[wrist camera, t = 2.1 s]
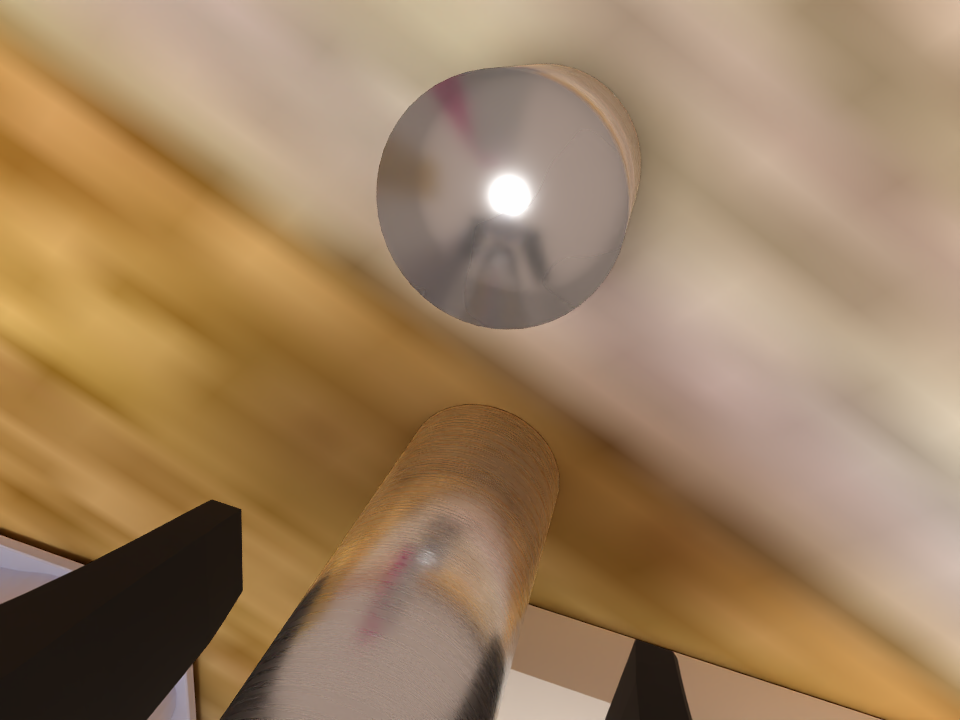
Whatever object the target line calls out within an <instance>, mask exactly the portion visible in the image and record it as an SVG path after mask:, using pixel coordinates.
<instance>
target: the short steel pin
mask: <svg viewBox="0 0 960 720" xmlns="http://www.w3.org/2000/svg"><path fill="white" fill-rule="evenodd" d="M640 177H641V152H640V146H639V141H638V136H637V133H636V130H635V127H634V124H633V122H632V120H631V118H630V116H629V114H628V112H627V110H626V109H625V108H624V106H623V105H622V103H621V102H620V100H619V99H618V98H617V97H616V96H615V95H614V94H613V93H612V92H611V90H610V89H608V88H607V87H606V86H605V85H604V84H602V83H601V82H600V81H598V80H597V79H595V78H594V77H592V76H590V75H589V74H587V73H584V72H582V71H580V70H577V69H575V68H571V67H567V66H563V65H556V64H531V65H520V66H509V67H498V68H487V69H480V70H475V71H469V72H465V73H462V74H459V75H456V76H454V77H451V78H449V79H447V80H445V81H443V82H441V83H439V84H437V85H435V86H434V87H432V88H431V89H429V90H428V91H427V92H425V93H424V94H423V95H421V96H420V97H419V98H418V99H417V100H416V101H415V102H414V103H413V104H412V105H411V106H410V107H409V108H408V109H407V110H406V112H405V113H404V114H403V115H402V117H401V118H400V119H399V120H398V122H397V124H396V126H395V127H394V129H393V131H392V132H391V134H390V136H389V139H388V141H387V143H386V146H385V148H384V151H383V154H382V158H381V161H380V165H379V171H378V178H377V209H378V217H379V221H380V226H381V230H382V233H383V236H384V239H385V242H386V245H387V247H388V249H389V251H390V253H391V255H392V258H393V260H394V261H395V263H396V265H397V266H398V268H399V269H400V271H401V272H402V274H403V275H404V276H405V278H406V279H407V280H408V281H409V283H410V284H411V285H412V286H413V287H414V288H415V289H416V290H417V291H418V292H419V293H420V294H421V295H422V296H423V297H424V298H425V299H427V300H428V301H429V302H430V303H432V304H433V305H434V306H436V307H437V308H439V309H440V310H442V311H444V312H445V313H447V314H449V315H451V316H453V317H455V318H457V319H460V320H462V321H465V322H468V323H471V324H474V325H477V326H482V327H487V328H494V329H523V328H528V327H533V326H538V325H541V324H544V323H547V322H550V321H553V320H555V319H557V318H559V317H561V316H563V315H566V314H567V313H569V312H570V311H572V310H573V309H575V308H576V307H578V306H579V305H581V304H582V303H583V302H584V301H585V300H586V299H588V298H589V297H590V296H591V295H592V294H593V293H594V292H595V291H596V289H597V288H598V287H599V286H600V285H601V284H602V283H603V281H604V280H605V278H606V277H607V275H608V274H609V272H610V271H611V269H612V267H613V265H614V263H615V261H616V259H617V257H618V255H619V252H620V249H621V246H622V243H623V240H624V237H625V234H626V230H627V227H628V223H629V220H630V216H631V213H632V209H633V206H634V202H635V199H636V195H637V192H638V187H639V182H640Z"/></svg>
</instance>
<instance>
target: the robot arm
mask: <svg viewBox="0 0 960 720" xmlns="http://www.w3.org/2000/svg"><path fill="white" fill-rule="evenodd" d="M242 591H243V580H242V522H241V509H239V508H236V507H233V506H230V505H227V504H224V503H221V502H218V501H215V500H210V501H208V502H206V503H204V504H202V505H200V506H198V507H196V508H194V509H192V510H190V511H188V512H187V513H185V514H183V515H181V516H179V517H177V518H175V519H173V520H171V521H170V522H168V523H166V524H164V525H162V526H160V527H158V528H156V529H155V530H153V531H151V532H149V533H147V534H145V535H143V536H141V537H139V538H137V539H135V540H134V541H132V542H130V543H128V544H126V545H124V546H122V547H120V548H118V549H116V550H114V551H112V552H110V553H108V554H106V555H104V556H102V557H100V558H98V559H96V560H94V561H93V562H91V563H89V564H87V565H83V564H81V563H78V562H75V561H72V560H69V559H67V558H64V557H61V556H58V555H55V554H53V553H50V552H47V551H44V550H41V549H39V548H36V547H33V546H30V545H27V544H25V543H22V542H19V541H16V540H13V539H11V538H8V537H5V536H2V535H0V720H196V707H195V692H194V677H193V663H194V662H195V660H196V659H197V658H198V657H199V655H200V654H201V653H202V652H203V650H204V649H205V648H206V646H207V645H208V644H209V643H210V641H211V640H212V638H213V637H214V635H215V634H216V632H217V631H218V629H219V628H220V626H221V625H222V623H223V622H224V620H225V619H226V617H227V615H228V614H229V612H230V610H231V609H232V607H233V606H234V604H235V602H236V601H237V599H238V597H239V596H240V594H241V593H242ZM605 720H692V716H691V713H690V709H689V705H688V702H687V698H686V694H685V690H684V686H683V681H682V677H681V673H680V668H679V663H678V659H677V657H676V655H675V654H674V652H673V651H670V650H667V649H664V648H661V647H658V646H655V645H652V644H649V643H646V642H643V641H640V640H637V639H635V642H634V644H633V647H632V649H631V652H630V655H629V657H628V660H627V663H626V665H625V668H624V670H623V673H622V676H621V678H620V681H619V684H618V686H617V689H616V692H615V694H614V697H613V699H612V702H611V705H610V707H609V710H608V713H607V715H606V718H605Z"/></svg>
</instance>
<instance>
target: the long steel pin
mask: <svg viewBox="0 0 960 720" xmlns="http://www.w3.org/2000/svg"><path fill="white" fill-rule="evenodd" d="M558 491H559V471H558V467H557V463H556V460H555V458H554V456H553V453H552V451H551V450H550V448H549V446H548V445H547V443H546V442H545V441H544V439H543V438H542V437H541V436H540V435H539V434H538V433H537V432H536V431H535V430H534V429H533V428H532V427H531V426H530V425H528V424H527V423H526V422H525V421H523V420H521V419H520V418H518V417H516V416H515V415H513V414H510V413H508V412H506V411H504V410H501V409H498V408H494V407H490V406H485V405H475V404H474V405H460V406H454V407H451V408H447V409H445V410H442V411H440V412H438V413H436V414H435V415H433V416H432V417H430V418H429V419H428V420H427V421H426V422H425V423H424V424H423V425H422V426H421V427H420V429H419V430H418V431H417V433H416V434H415V436H414V437H413V439H412V440H411V442H410V443H409V445H408V446H407V447H406V449H405V450H404V452H403V453H402V455H401V456H400V458H399V459H398V461H397V462H396V464H395V465H394V466H393V468H392V469H391V471H390V472H389V474H388V475H387V477H386V478H385V480H384V481H383V482H382V484H381V485H380V487H379V488H378V490H377V491H376V493H375V494H374V496H373V497H372V498H371V500H370V501H369V503H368V504H367V506H366V507H365V509H364V510H363V512H362V513H361V515H360V516H359V517H358V519H357V520H356V522H355V523H354V525H353V526H352V528H351V529H350V531H349V532H348V533H347V535H346V536H345V538H344V539H343V541H342V542H341V544H340V545H339V547H338V548H337V550H336V551H335V552H334V554H333V555H332V557H331V558H330V560H329V561H328V563H327V564H326V566H325V567H324V568H323V570H322V571H321V573H320V574H319V576H318V577H317V579H316V580H315V582H314V583H313V585H312V586H311V587H310V589H309V590H308V592H307V593H306V595H305V596H304V598H303V599H302V601H301V602H300V603H299V605H298V606H297V608H296V609H295V611H294V612H293V614H292V615H291V617H290V618H289V619H288V621H287V622H286V624H285V625H284V627H283V628H282V630H281V631H280V633H279V634H278V636H277V637H276V638H275V640H274V641H273V643H272V644H271V646H270V647H269V649H268V650H267V652H266V653H265V654H264V656H263V657H262V659H261V660H260V662H259V663H258V665H257V666H256V668H255V669H254V671H253V672H252V673H251V675H250V676H249V678H248V679H247V681H246V682H245V684H244V685H243V687H242V688H241V689H240V691H239V692H238V694H237V695H236V697H235V698H234V700H233V701H232V703H231V704H230V706H229V707H228V708H227V710H226V711H225V713H224V714H223V716H222V717H221V719H220V720H497V718H498V714H499V710H500V707H501V703H502V699H503V696H504V692H505V688H506V684H507V681H508V677H509V673H510V670H511V666H512V662H513V659H514V655H515V651H516V648H517V644H518V640H519V636H520V633H521V629H522V625H523V622H524V618H525V614H526V611H527V607H528V603H529V600H530V596H531V592H532V588H533V585H534V581H535V577H536V574H537V570H538V566H539V563H540V559H541V555H542V552H543V548H544V544H545V540H546V537H547V533H548V529H549V526H550V522H551V518H552V515H553V511H554V507H555V504H556V500H557V496H558Z"/></svg>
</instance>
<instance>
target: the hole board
mask: <svg viewBox="0 0 960 720" xmlns="http://www.w3.org/2000/svg"><path fill="white" fill-rule="evenodd" d="M634 642H635V639H633V638H630V637H627V636H624V635H621V634H618V633H615V632H612V631H609V630H605V629H602V628H599V627H596V626H593V625H590V624H587V623H584V622H581V621H578V620H575V619H572V618H569V617H566V616H563V615H559V614H556V613H553V612H550V611H547V610H544V609H541V608H538V607H535V606H532V605H529V604H528V607H527V611H526V614H525V618H524V622H523V625H522V629H521V633H520V636H519V640H518V644H517V648H516V651H515V655H514V659H513V662H512V666H511V670H510V673H509V677H508V681H507V684H506V688H505V692H504V696H503V699H502V703H501V707H500V710H499V714H498V718H497V720H605V718H606V715H607V713H608V710H609V707H610V705H611V702H612V699H613V697H614V694H615V692H616V689H617V686H618V684H619V681H620V678H621V676H622V673H623V670H624V668H625V665H626V663H627V660H628V657H629V655H630V652H631V649H632V647H633V644H634ZM674 654H675V655H676V657H677V659H678V663H679V668H680V673H681V677H682V681H683V686H684V690H685V694H686V698H687V702H688V705H689V709H690V713H691V716H692V720H882V719H879V718H875V717H872V716H869V715H866V714H863V713H860V712H857V711H854V710H851V709H848V708H845V707H842V706H839V705H836V704H833V703H829V702H826V701H823V700H820V699H817V698H814V697H811V696H808V695H805V694H802V693H799V692H796V691H793V690H790V689H787V688H783V687H780V686H777V685H774V684H771V683H768V682H765V681H762V680H759V679H756V678H753V677H750V676H747V675H744V674H740V673H737V672H734V671H731V670H728V669H725V668H722V667H719V666H716V665H713V664H710V663H707V662H704V661H701V660H698V659H694V658H691V657H688V656H685V655H682V654H679V653H676V652H674Z"/></svg>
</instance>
